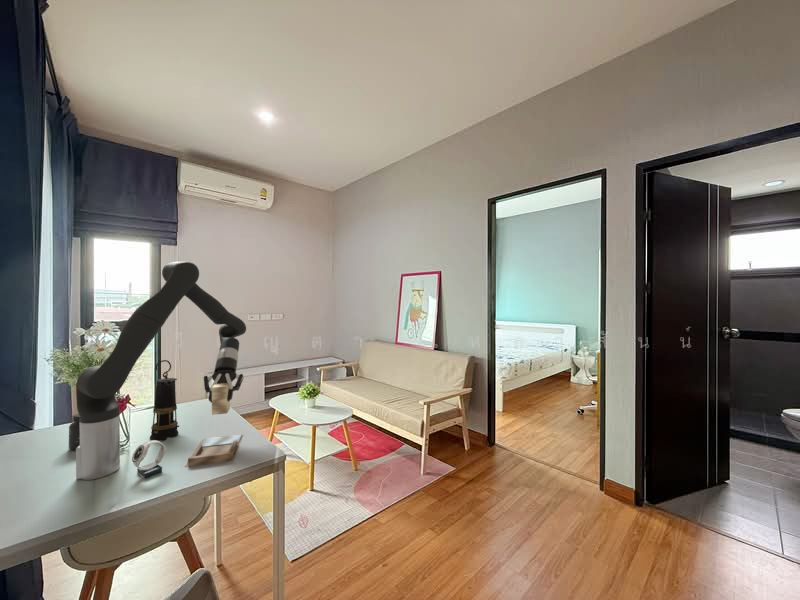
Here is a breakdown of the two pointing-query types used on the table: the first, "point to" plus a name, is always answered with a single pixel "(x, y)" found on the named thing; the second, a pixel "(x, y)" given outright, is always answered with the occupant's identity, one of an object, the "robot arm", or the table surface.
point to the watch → (153, 467)
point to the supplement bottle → (74, 433)
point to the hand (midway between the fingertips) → (220, 400)
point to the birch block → (220, 399)
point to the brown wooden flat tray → (215, 450)
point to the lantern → (164, 408)
